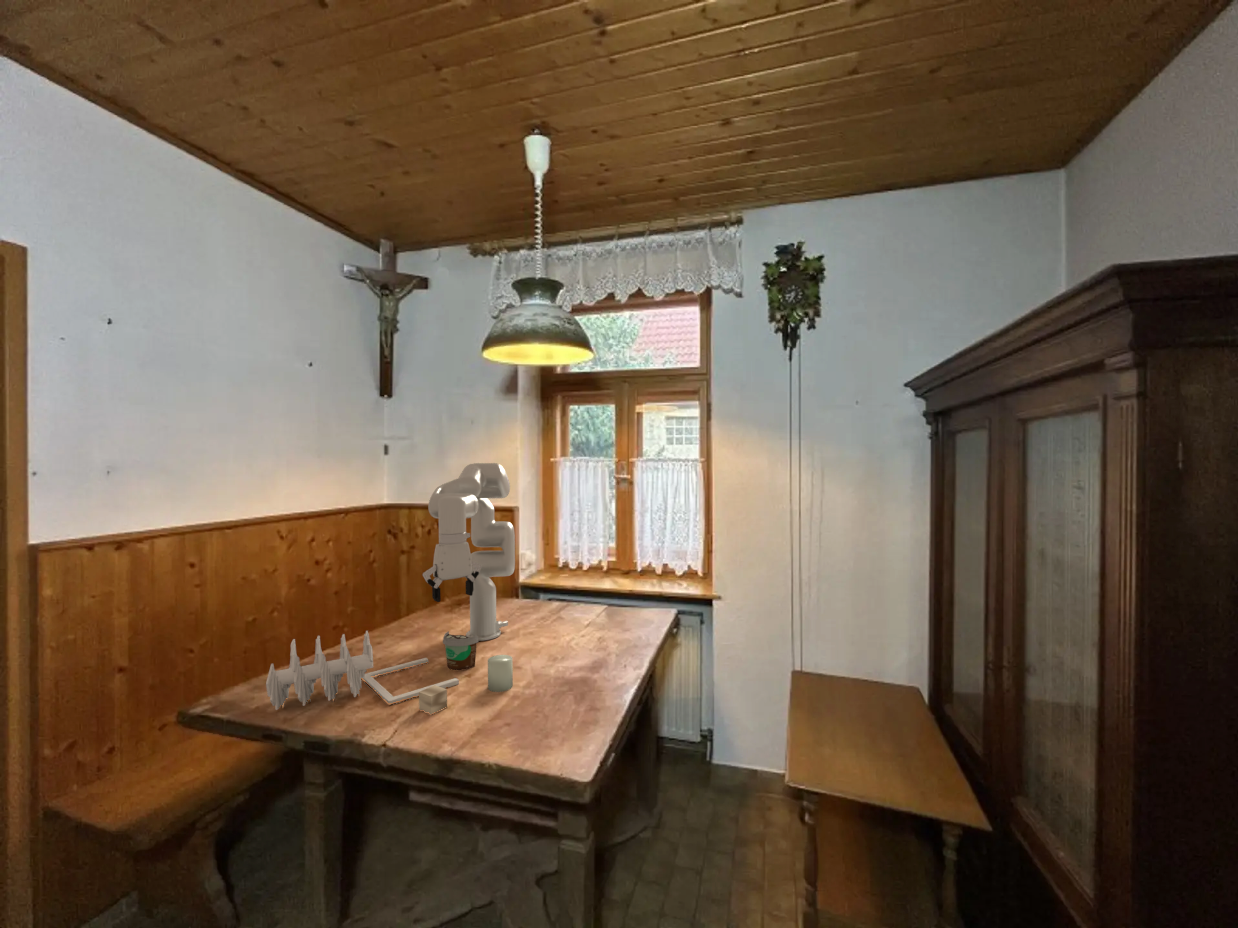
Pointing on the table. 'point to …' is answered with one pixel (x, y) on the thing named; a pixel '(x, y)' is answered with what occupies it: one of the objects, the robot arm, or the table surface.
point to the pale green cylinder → (500, 673)
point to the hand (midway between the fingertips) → (453, 597)
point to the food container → (460, 651)
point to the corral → (391, 699)
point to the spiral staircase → (319, 673)
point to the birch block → (433, 699)
